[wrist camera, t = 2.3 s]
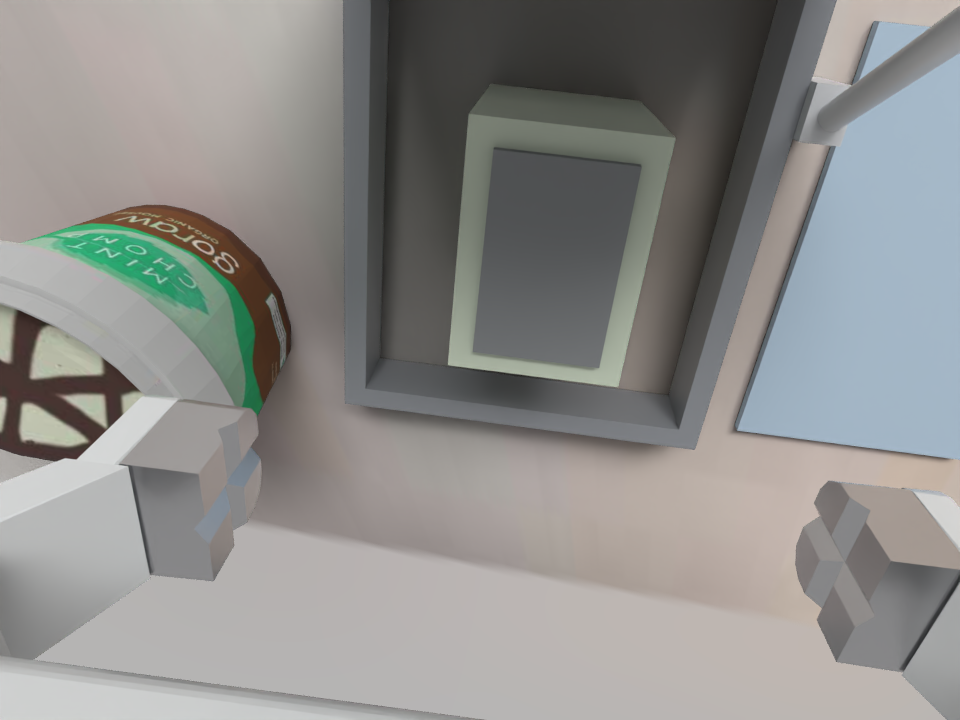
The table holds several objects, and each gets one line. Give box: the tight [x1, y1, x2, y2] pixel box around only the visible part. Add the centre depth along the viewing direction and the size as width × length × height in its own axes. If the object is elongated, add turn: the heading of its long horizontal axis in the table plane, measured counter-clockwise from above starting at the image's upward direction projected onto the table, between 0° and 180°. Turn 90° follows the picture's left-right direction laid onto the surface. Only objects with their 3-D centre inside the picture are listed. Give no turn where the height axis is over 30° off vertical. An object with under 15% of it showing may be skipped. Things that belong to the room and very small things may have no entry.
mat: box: [735, 21, 960, 460], centre depth 23 cm, size 9×15×1 cm, turn 174°
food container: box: [0, 205, 291, 461], centre depth 21 cm, size 12×6×10 cm, turn 76°
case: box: [343, 0, 960, 450], centre depth 17 cm, size 15×18×13 cm
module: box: [448, 84, 676, 387], centre depth 20 cm, size 5×7×7 cm
